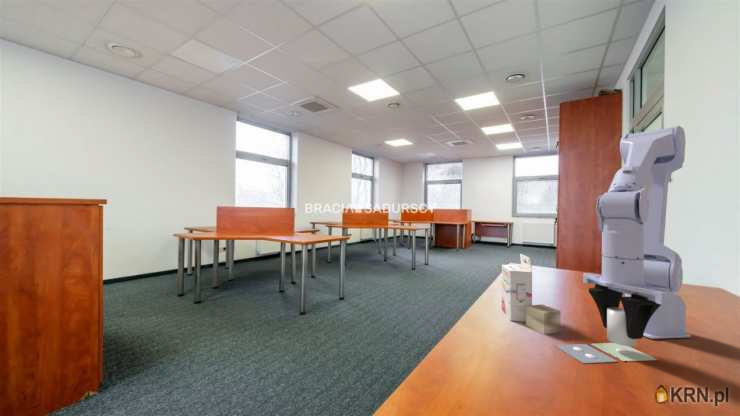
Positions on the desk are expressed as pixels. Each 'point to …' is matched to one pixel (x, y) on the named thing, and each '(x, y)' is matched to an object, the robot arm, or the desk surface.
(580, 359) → the pad two
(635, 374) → the desk surface
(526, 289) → the ink cartridge box
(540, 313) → the birch block
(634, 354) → the pad one
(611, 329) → the white capsule cylinder
